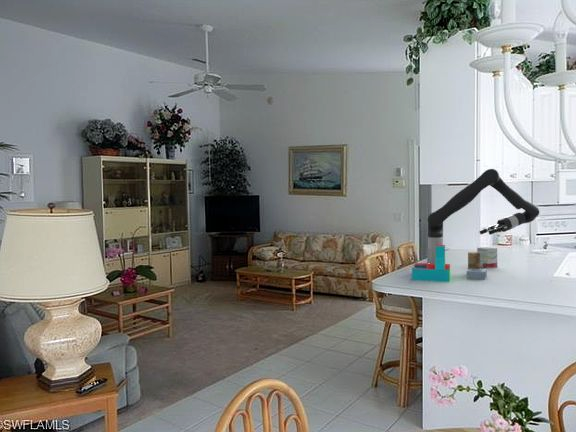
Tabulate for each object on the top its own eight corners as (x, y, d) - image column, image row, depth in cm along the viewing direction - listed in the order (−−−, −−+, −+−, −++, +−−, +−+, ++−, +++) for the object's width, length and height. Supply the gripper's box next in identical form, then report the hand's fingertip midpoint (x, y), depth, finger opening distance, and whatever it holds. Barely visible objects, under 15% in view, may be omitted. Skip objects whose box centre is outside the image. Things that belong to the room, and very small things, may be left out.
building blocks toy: (450, 274, 271) (450, 242, 270) (449, 282, 247) (449, 247, 246) (416, 272, 277) (416, 241, 276) (412, 280, 254) (411, 246, 253)
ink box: (497, 267, 289) (498, 247, 288) (487, 268, 286) (487, 248, 285) (487, 265, 297) (487, 246, 296) (476, 266, 294) (476, 247, 293)
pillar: (473, 274, 266) (473, 253, 265) (468, 273, 270) (468, 252, 269) (479, 274, 267) (480, 252, 266) (474, 272, 271) (474, 251, 271)
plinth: (466, 278, 255) (466, 271, 255) (469, 275, 263) (469, 268, 262) (484, 279, 251) (484, 272, 250) (486, 276, 258) (486, 269, 258)
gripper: (497, 217, 282) (475, 226, 279) (514, 216, 268) (490, 226, 265) (501, 229, 283) (479, 238, 279) (518, 229, 269) (494, 239, 265)
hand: (484, 232), depth 272 cm, fingers open, 8 cm apart
